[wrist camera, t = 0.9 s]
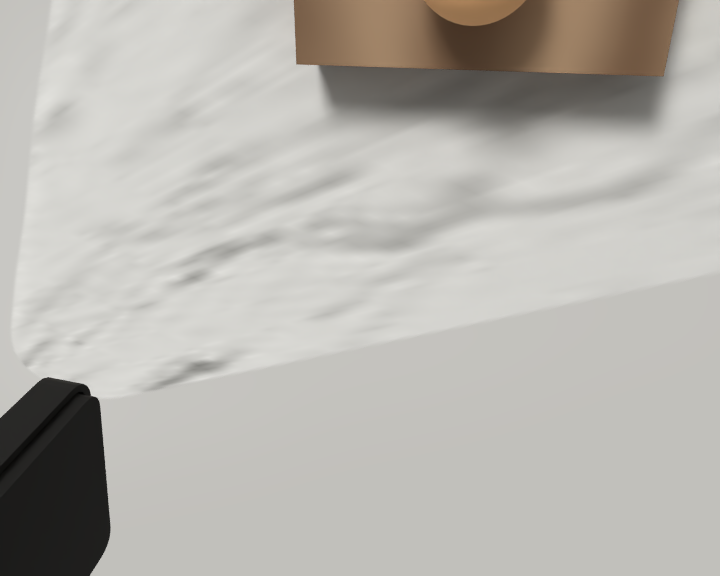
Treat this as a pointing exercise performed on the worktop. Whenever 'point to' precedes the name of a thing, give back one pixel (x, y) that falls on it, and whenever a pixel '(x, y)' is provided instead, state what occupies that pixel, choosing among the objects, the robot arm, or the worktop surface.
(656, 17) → the board
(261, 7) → the worktop surface
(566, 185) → the worktop surface
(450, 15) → the ball
